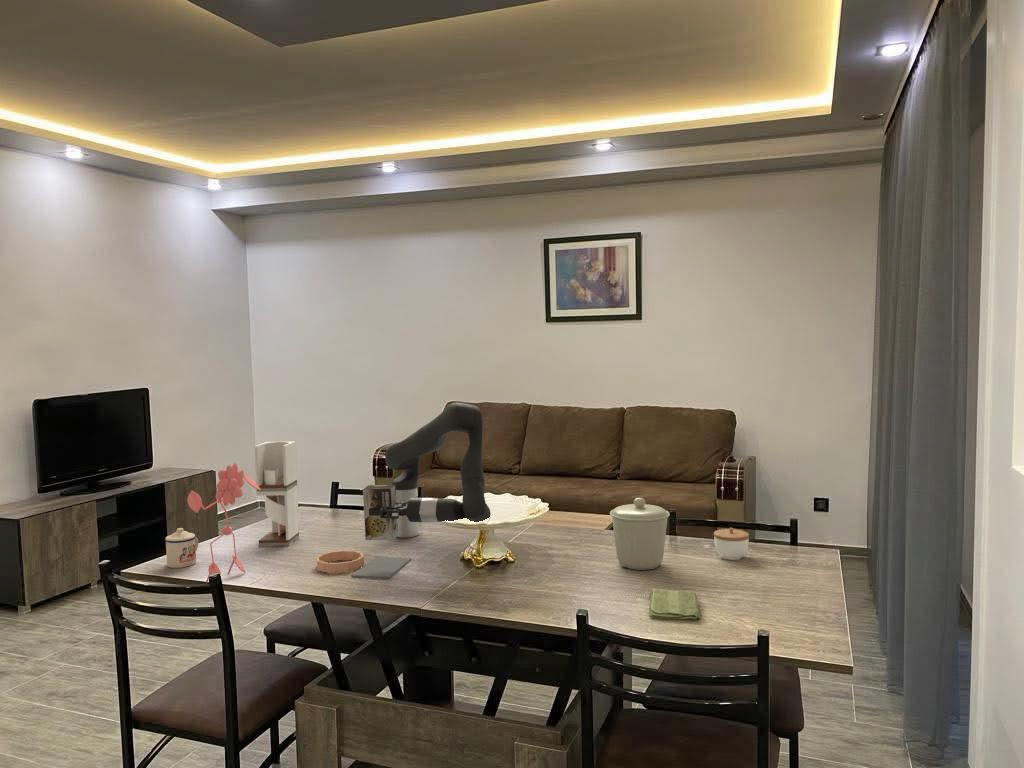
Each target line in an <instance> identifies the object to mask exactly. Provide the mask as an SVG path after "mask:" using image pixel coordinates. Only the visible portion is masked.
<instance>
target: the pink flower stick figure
mask: <svg viewBox="0 0 1024 768" xmlns="http://www.w3.org/2000/svg"><path fill="white" fill-rule="evenodd" d="M217 473H218V474H217V476H218V479H219V481H218V483H216V489H217V490H216V493H215V499H216V500H215V501H214V502H212V503H210V504H209V505H208V506H206V507H204V505H203V503H202V502H203V500H202V498H201V496H200V494H199V493H198V492H196V491H194V490H191V491H190V493H188V496H187V505H188V507H189V508H190V509H191V510H192V511H193V512H194V513H196V514H198V513H199V512H200V509H201V508H202V510H203V511H206V510H207V509H209V508H211V507H213V506H214V505H216V504H217V503H219V504H220V505H221V507H222V509H223V511H224V515H225V520H226V526H224V527H223V528H222V530H221V532H222V534H220V536H218V537H217V538H216V539H214V540H213V541H211V542H210V543H209V545H210V553H211V563H210V564H209V565H208V575H207V578H206V581H205V583H206V584H208V582H209V580H208V578H209V576H210V575H212V574H214V573H219V574H220V575H221V576H222V572H221V569H220V567H219V566H218V565H217V563H215V562H214V554H213V545H212V544H214V542H216V541H217V540H219V539H220V538H222V537H223V536H229V535H232V538H233V539H232V540H233V549H234V550H233V551H234V554H232V555H231V557H232V561H231V564H230V567H229V568H228V572H227V574H228V575H229V574H230V573H231V571H232V568H233V565H234V564H235V565H236V566H237V568H238V569H240V571H241V572H243V573H244V574H246V573H247V572H246V570H245V567H244V565H243V563H242V562H241V560H240V559H239V558H238V557H237V553H236V552H237V551H236V541H235V539H236V538H235V534H234V532H233V529H232V527H231V526H229V518H228V512H227V509H226V508H225V507H227V506H229V504H230V505H234V504H235V503H236V499H237V498H242V497H243V495H244V492H243V490H242V487H243V486H244V485H245V481H246V483H248V484H249V485H250V486H251V487H253V488H254V489H255V490H257V489H258V490H260V491H261V489H260V488H259V486H258V485H257V484H256V482H255V481H254V480H253V479H252V478H251V477H249V476H248V475H246V474H245V472H244V470H243V469H241V470H239V467H238V464H237V463H236V462H235V463H233V465H230V464H229V465H227V466H226V469H225V470H224V469H222V470H219V471H218V472H217ZM263 573H264V574H265V571H263ZM209 579H210V578H209ZM242 587H244V585H241V586H240V588H242Z"/></svg>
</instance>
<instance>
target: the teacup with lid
mask: <svg viewBox="0 0 1024 768" xmlns="http://www.w3.org/2000/svg"><path fill="white" fill-rule="evenodd" d="M164 542H165V550H166V551H165V553H166V566H167V567H168V568H171V569H180V568H188V567H191V566H193V565H194V564H196V562H197V555H196V553H197V550H198V549H199V539H198V538H197V537H196V535H195V533H193V532H188V531H186V530H184V528H183V527H179V528H176V531H175V532H173V533H172V534H170V535H167V536H165V539H164ZM187 566H188V567H187Z"/></svg>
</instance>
